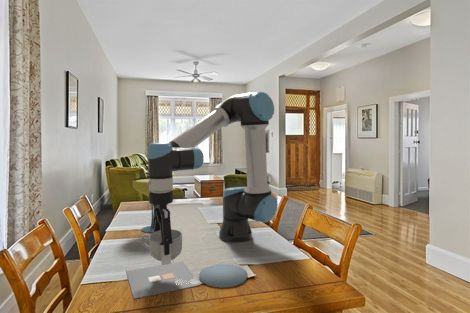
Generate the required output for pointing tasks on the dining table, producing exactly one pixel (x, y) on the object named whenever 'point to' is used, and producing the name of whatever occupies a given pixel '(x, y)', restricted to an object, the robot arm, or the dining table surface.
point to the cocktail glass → (143, 188)
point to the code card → (159, 279)
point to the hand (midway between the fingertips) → (162, 257)
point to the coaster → (223, 275)
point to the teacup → (156, 240)
